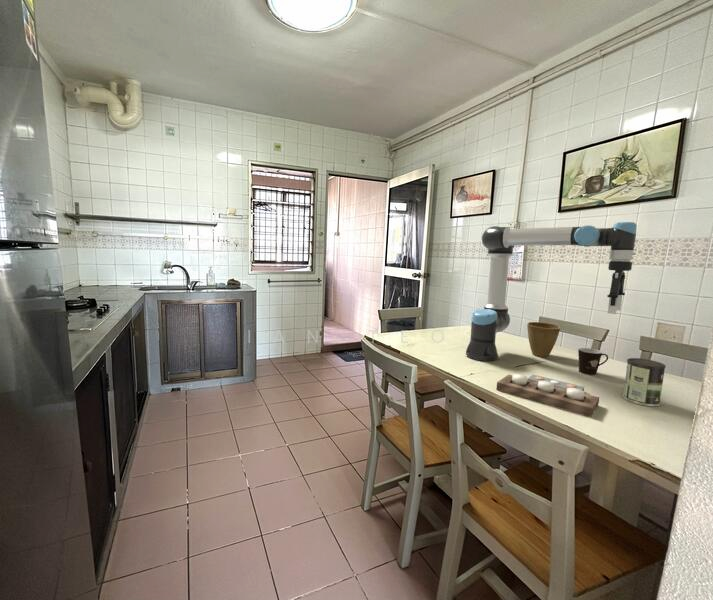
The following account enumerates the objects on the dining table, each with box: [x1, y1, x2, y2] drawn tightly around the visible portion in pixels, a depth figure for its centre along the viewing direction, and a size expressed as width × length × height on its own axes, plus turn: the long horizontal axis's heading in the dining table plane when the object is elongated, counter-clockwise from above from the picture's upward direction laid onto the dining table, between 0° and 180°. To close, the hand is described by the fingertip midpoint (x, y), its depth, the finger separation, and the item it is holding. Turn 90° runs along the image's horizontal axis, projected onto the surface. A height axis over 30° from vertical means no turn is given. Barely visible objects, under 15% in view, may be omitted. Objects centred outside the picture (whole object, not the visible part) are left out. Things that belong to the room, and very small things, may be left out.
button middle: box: [538, 381, 554, 393], centre depth 120 cm, size 5×5×2 cm
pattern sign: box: [527, 374, 585, 392], centre depth 130 cm, size 18×7×2 cm, turn 46°
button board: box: [496, 374, 600, 418], centre depth 120 cm, size 30×12×3 cm, turn 46°
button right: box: [566, 388, 585, 401], centre depth 114 cm, size 5×5×2 cm
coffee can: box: [622, 357, 666, 407], centre depth 119 cm, size 10×10×14 cm
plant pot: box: [526, 321, 561, 358], centre depth 172 cm, size 15×15×16 cm
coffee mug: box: [577, 347, 609, 376], centre depth 146 cm, size 12×9×10 cm
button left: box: [511, 373, 528, 385], centre depth 126 cm, size 5×5×2 cm
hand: (614, 311), depth 140 cm, fingers open, 13 cm apart
